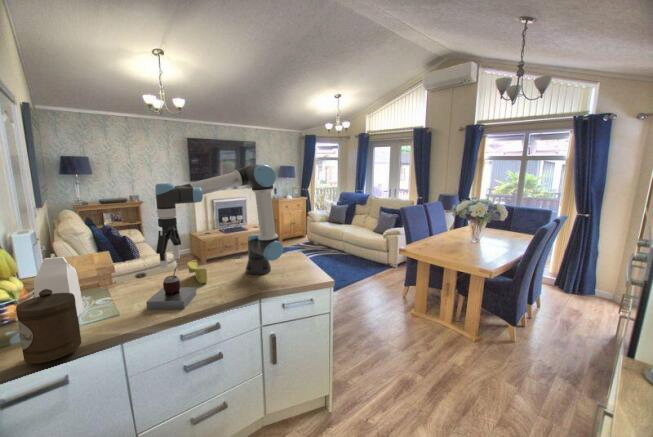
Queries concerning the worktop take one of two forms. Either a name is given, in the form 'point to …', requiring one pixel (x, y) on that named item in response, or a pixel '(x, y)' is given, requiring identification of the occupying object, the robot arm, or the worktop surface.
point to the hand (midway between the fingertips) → (170, 262)
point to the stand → (171, 299)
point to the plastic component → (198, 271)
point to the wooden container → (48, 326)
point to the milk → (58, 279)
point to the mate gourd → (171, 284)
